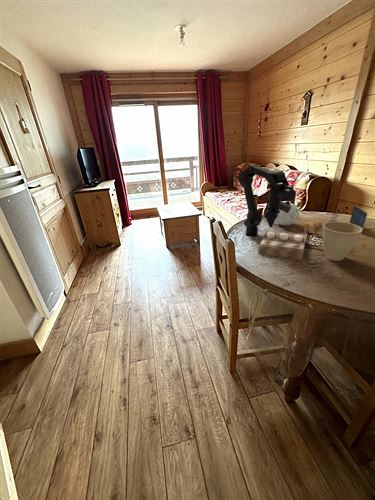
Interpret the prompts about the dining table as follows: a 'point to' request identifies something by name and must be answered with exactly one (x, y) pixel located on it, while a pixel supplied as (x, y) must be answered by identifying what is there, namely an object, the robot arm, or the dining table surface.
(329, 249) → the plant pot
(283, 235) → the button middle
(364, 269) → the dining table surface
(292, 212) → the puzzle ball
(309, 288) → the dining table surface
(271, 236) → the button left
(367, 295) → the dining table surface
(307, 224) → the lion figurine
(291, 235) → the button board
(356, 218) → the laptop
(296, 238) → the button right
